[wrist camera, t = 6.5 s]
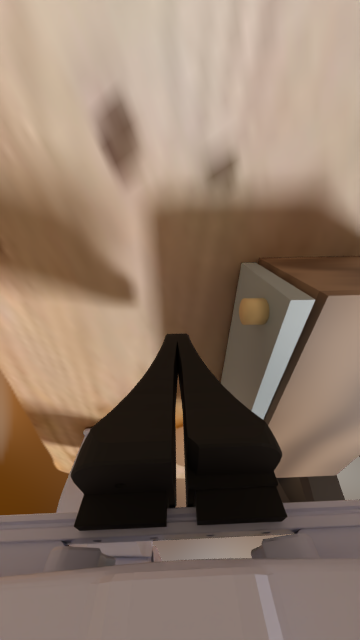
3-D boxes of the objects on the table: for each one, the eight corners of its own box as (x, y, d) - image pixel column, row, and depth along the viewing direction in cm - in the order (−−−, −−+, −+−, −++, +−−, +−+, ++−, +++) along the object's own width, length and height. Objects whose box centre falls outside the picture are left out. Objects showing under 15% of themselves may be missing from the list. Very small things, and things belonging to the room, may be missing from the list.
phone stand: (296, 435, 26) (375, 579, 16) (324, 442, 28) (413, 579, 17) (257, 460, 30) (300, 587, 20) (284, 465, 32) (336, 586, 21)
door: (207, 414, 22) (217, 476, 17) (227, 263, 12) (265, 300, 7) (223, 413, 22) (238, 476, 17) (255, 262, 12) (315, 299, 7)
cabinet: (226, 413, 22) (243, 479, 17) (259, 258, 12) (328, 295, 7) (296, 410, 22) (335, 475, 17) (384, 255, 13) (551, 290, 7)
